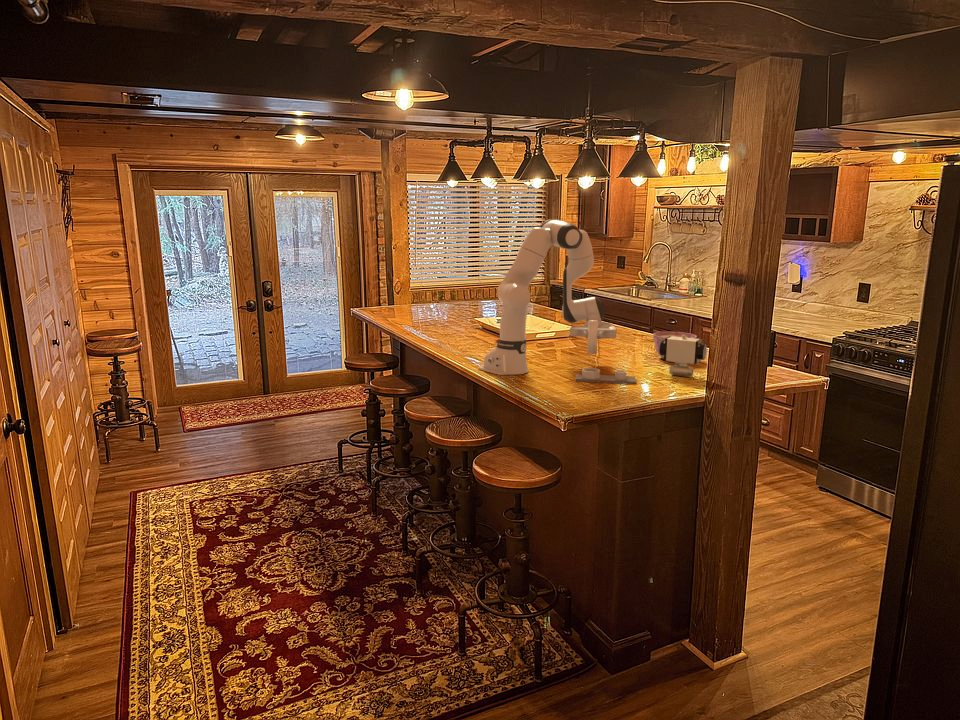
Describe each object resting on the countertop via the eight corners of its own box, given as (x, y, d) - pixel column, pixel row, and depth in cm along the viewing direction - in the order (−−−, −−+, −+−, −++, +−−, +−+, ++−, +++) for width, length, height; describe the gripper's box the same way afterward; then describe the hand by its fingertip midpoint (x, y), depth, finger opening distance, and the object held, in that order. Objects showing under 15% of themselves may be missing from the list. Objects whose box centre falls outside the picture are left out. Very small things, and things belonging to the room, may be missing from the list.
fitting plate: (575, 381, 271) (576, 371, 270) (576, 376, 280) (577, 367, 279) (635, 384, 267) (636, 374, 266) (634, 378, 276) (635, 369, 275)
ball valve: (705, 376, 281) (708, 335, 277) (700, 380, 274) (704, 338, 270) (663, 371, 290) (665, 331, 286) (657, 375, 283) (660, 334, 279)
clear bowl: (643, 358, 316) (644, 334, 313) (664, 352, 329) (666, 330, 327) (682, 365, 302) (683, 340, 299) (702, 358, 316) (704, 335, 313)
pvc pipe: (585, 353, 284) (586, 320, 281) (590, 351, 287) (591, 319, 284) (593, 354, 282) (595, 321, 279) (598, 352, 285) (599, 320, 282)
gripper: (570, 321, 296) (568, 326, 283) (616, 323, 293) (617, 328, 279) (569, 335, 298) (567, 341, 284) (615, 337, 294) (616, 343, 281)
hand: (592, 335), depth 282 cm, fingers closed on pvc pipe, 4 cm apart
